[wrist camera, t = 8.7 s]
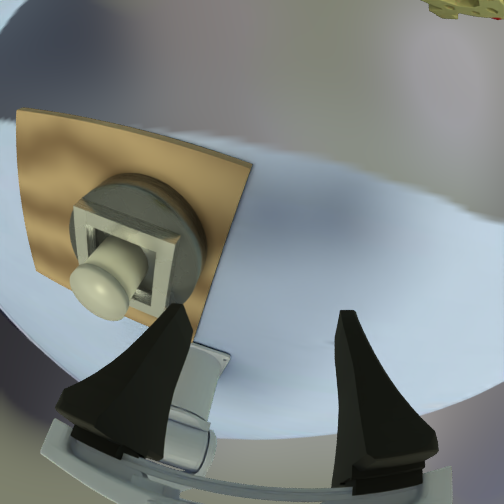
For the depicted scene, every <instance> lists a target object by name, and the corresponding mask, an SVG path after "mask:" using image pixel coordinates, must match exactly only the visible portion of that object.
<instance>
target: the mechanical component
mask: <svg viewBox="0 0 504 504" xmlns="http://www.w3.org/2000/svg"><path fill="white" fill-rule="evenodd" d="M421 1H424V2H426V3H428V4H429V11H431V12H433V13H434V14H436V15H437V16H439V17H441V18H444V19H458V14H459V13H461V14H466V15H470V16H476V17H484V18H492V19H496V20H501V19H504V0H421Z"/></svg>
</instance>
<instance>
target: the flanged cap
mask: <svg viewBox="0 0 504 504" xmlns="http://www.w3.org/2000/svg"><path fill="white" fill-rule="evenodd" d="M147 272H148V260H147V257H146V255H145V253H144V252H143V250H142V249H141V248H140V247H139V246H138V245H136V244H134V243H131V242H129V241H126V240H123V239H121V238H118V237H116V236H114V235H110V236H108V237H107V238H106V239H105V240H104V241H103V242H102V243H101V244H100V245H99V246H98V247H97V249H96V250H95V251H94V252H93V253H92V254H91V255H90V257H89V258H88V259H87V260H86V261H85V262H84V264H80V265H79V266H78V267H77V268H76V269H75V270H74V271H73V272H72V274H71V275H70V286H71V289H72V291H73V293H74V295H75V296H76V298H77V299H78V300H79V302H80V303H81V304H82V305H83V306H84V307H85V308H86V309H88V310H89V311H90V312H92V313H93V314H95V315H96V316H98V317H100V318H103V319H106V320H110V321H118V320H121V319H122V318H123V317H124V315H125V314H126V312H127V310H128V309H129V304H130V303H129V301H130V300H131V298H132V296H133V295H134V293H135V291H136V290H137V288H138V287H139V285H140V283H141V282H142V280H143V278H144V277H145V275H146V274H147Z"/></svg>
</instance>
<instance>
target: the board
mask: <svg viewBox="0 0 504 504" xmlns="http://www.w3.org/2000/svg"><path fill="white" fill-rule="evenodd" d="M16 147H17V166H18V178H19V187H20V195H21V202H22V209H23V215H24V221H25V226H26V231H27V236H28V240H29V245H30V249H31V253H32V257H33V261H34V265H35V268H36V271H37V272H39V273H41V274H42V275H44V276H46V277H48V278H49V279H51V280H53V281H55V282H57V283H58V284H60V285H62V286H64V287H66V288H68V289H70V290H71V291H72V289H71V286H70V275H71V274H72V272H73V271H74V270H75V269H76V268H77V267H78V266H79V262H78V259H77V258H76V256H75V253H74V251H73V248H72V244H71V240H70V234H69V223H70V217H71V213H72V211H73V205H75V204H76V203H77V202H78V201H79V200H80V199H81V198H82V197H83V196H85V195H86V194H87V193H89V192H90V191H91V190H93V189H94V188H95V187H96V186H98V185H99V184H101V183H102V182H103V181H105V180H106V179H108V178H110V177H112V176H114V175H117V174H122V173H140V174H144V175H148V176H151V177H154V178H156V179H159V180H161V181H162V182H164V183H166V184H168V185H169V186H171V187H172V188H173V189H175V190H176V191H177V192H178V193H179V194H181V195H182V196H183V197H184V198H185V199H186V200H187V202H188V203H189V204H190V205H191V206H192V208H193V209H194V211H195V212H196V214H197V215H198V217H199V219H200V221H201V223H202V226H203V228H204V231H205V235H206V239H207V258H206V262H205V265H204V267H203V270H202V272H201V274H200V277H199V279H198V281H197V283H196V286H195V288H194V290H193V292H192V294H191V296H190V297H189V298H188V300H187V301H186V302H185V303H183V305H184V307H185V310H186V313H187V315H188V318H189V321H190V323H191V326H192V328H193V336H192V340H191V343H193V340H194V337H195V334H196V330H197V327H198V324H199V321H200V318H201V315H202V311H203V308H204V305H205V302H206V299H207V296H208V293H209V290H210V286H211V283H212V280H213V277H214V274H215V271H216V268H217V265H218V262H219V259H220V256H221V253H222V250H223V247H224V244H225V241H226V238H227V235H228V233H229V230H230V227H231V224H232V221H233V218H234V215H235V212H236V209H237V207H238V204H239V201H240V198H241V195H242V192H243V190H244V187H245V184H246V181H247V178H248V176H249V173H250V170H251V167H252V165H253V164H251V163H248V162H245V161H242V160H239V159H236V158H234V157H231V156H228V155H225V154H222V153H219V152H216V151H213V150H209V149H206V148H203V147H200V146H197V145H193V144H190V143H187V142H183V141H180V140H177V139H173V138H170V137H166V136H162V135H159V134H155V133H151V132H147V131H144V130H140V129H136V128H132V127H128V126H123V125H119V124H115V123H110V122H106V121H101V120H96V119H92V118H87V117H81V116H76V115H71V114H64V113H59V112H52V111H46V110H39V109H32V108H21V109H18V110H17V115H16ZM124 316H125V317H127V318H130V319H132V320H134V321H137V322H139V323H141V324H144V325H146V326H148V327H150V326H151V325H152V324H153V323H154V322H155V321H156V319H157V317H154V316H152V315H149V314H147V313H144V312H142V311H140V310H137V309H135V308H133V307H130V306H129V309H128V310H127V312H126V314H125V315H124Z"/></svg>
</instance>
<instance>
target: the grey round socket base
mask: <svg viewBox="0 0 504 504" xmlns="http://www.w3.org/2000/svg"><path fill="white" fill-rule="evenodd" d="M69 234H70V240H71V244H72V248H73V251H74V253H75V256H76V258H77V259H78V262H79V265H80V264H84V262H85V261H86V260H87V259H88V258H89V257H90V255H91V254H92V253H93V252H94V251H95V250H96V249H97V247H98V246H99V245H100V244H101V243H102V242H103V241H104V240H105V239H106V238H107V237H108V236H110V235H114V236H116V237H118V238H121V239H123V240H126V241H129V242H131V243H134V244H136V245H138V246H139V247H140V248H141V249H142V250H143V252H144V253H145V255H146V257H147V260H148V272H147V274H146V275H145V277H144V278H143V280H142V282H141V283H140V285H139V287H138V288H137V290H136V291H135V293H134V295H133V296H132V298H131V300H130V301H129V303H130V304H129V306H130V307H133V308H135V309H137V310H140V311H142V312H144V313H147V314H149V315H152V316H154V317H157V318H158V317H159V316H160V315H161V314H162V313H163V312H164V311H165V310H166V309H167V308H168V307H169V306H170V305H171V303H178V304H183V303H185V302H186V301H187V300H188V298H189V297H190V296H191V294H192V292H193V290H194V288H195V286H196V283H197V281H198V279H199V277H200V274H201V272H202V270H203V267H204V265H205V262H206V258H207V239H206V235H205V231H204V228H203V226H202V223H201V221H200V219H199V217H198V215H197V214H196V212H195V211H194V209H193V208H192V206H191V205H190V204H189V203H188V202H187V200H186V199H185V198H184V197H183V196H182V195H181V194H179V193H178V192H177V191H176V190H175V189H173V188H172V187H171V186H169V185H168V184H166V183H164V182H162V181H161V180H159V179H156V178H154V177H151V176H148V175H144V174H140V173H122V174H117V175H114V176H112V177H110V178H108V179H106V180H105V181H103V182H102V183H101V184H99V185H98V186H96V187H95V188H94V189H93V190H91V191H90V192H89V193H87V194H86V195H85V196H83V197H82V198H81V199H80V200H79V201H78V202H77V203H76V204H75V205H73V211H72V213H71V217H70V223H69Z"/></svg>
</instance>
